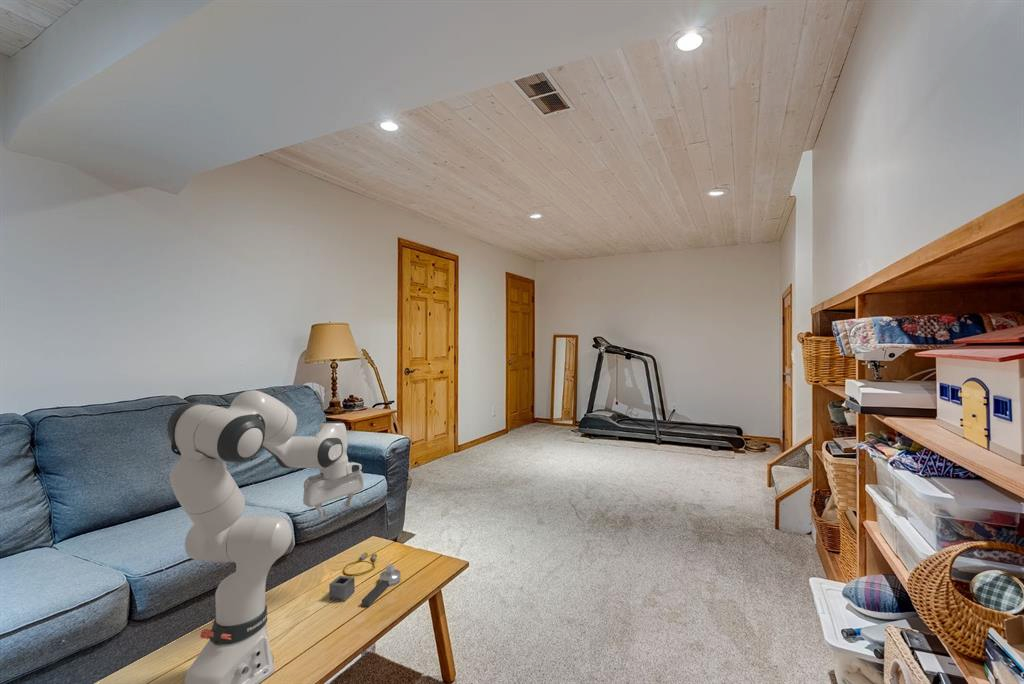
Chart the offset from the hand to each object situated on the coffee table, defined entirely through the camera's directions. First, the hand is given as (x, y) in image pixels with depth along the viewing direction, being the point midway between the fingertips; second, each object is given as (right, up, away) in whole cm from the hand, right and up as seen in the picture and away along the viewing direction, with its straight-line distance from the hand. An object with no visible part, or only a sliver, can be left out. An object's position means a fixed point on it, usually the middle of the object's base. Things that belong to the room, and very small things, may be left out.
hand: (335, 511), depth 152 cm
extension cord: (+2, -29, +22) cm, 36 cm away
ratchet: (+14, -28, +4) cm, 32 cm away
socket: (+2, -28, +1) cm, 29 cm away
